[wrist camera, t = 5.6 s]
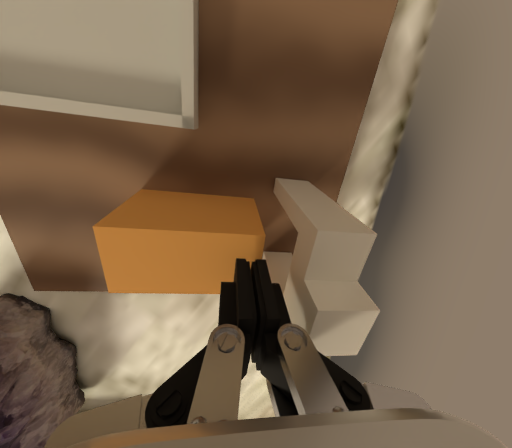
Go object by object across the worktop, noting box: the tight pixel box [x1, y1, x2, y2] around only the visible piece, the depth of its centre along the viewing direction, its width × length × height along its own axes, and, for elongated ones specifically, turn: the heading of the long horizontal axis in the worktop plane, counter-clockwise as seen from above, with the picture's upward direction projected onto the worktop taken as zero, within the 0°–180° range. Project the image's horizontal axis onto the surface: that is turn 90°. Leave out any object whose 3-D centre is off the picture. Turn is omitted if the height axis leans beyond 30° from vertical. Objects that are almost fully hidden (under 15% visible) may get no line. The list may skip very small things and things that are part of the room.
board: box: [0, 0, 398, 291], centre depth 16 cm, size 27×27×1 cm
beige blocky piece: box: [262, 178, 380, 356], centre depth 14 cm, size 8×3×11 cm, turn 173°
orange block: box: [93, 189, 266, 294], centre depth 15 cm, size 4×9×6 cm, turn 83°
